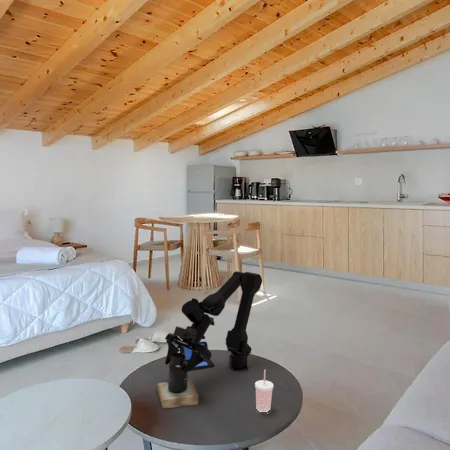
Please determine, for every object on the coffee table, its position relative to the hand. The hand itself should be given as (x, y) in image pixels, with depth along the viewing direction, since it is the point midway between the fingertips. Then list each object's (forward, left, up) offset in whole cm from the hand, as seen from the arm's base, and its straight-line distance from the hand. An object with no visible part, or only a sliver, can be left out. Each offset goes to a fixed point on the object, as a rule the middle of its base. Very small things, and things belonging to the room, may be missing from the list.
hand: (175, 368), depth 141 cm
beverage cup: (-27, +14, -11) cm, 33 cm away
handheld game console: (-14, -26, -12) cm, 32 cm away
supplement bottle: (-1, -1, -8) cm, 8 cm away
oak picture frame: (-1, -1, -11) cm, 11 cm away
